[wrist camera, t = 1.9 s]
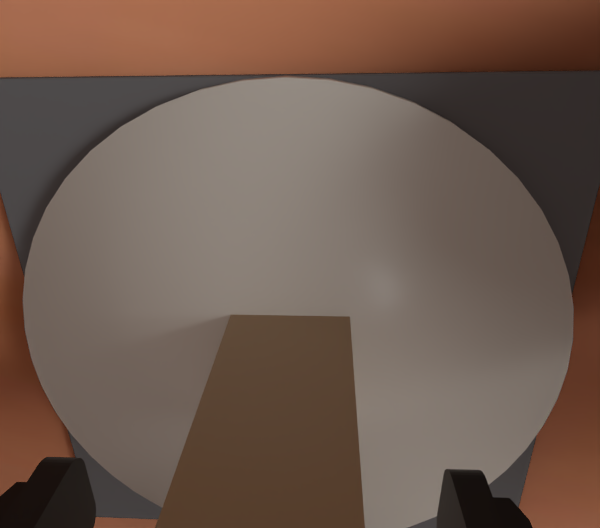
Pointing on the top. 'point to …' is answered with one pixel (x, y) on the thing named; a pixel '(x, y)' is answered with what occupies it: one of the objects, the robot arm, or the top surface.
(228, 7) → the top surface
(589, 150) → the mat
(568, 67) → the top surface
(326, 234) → the lid
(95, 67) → the top surface
